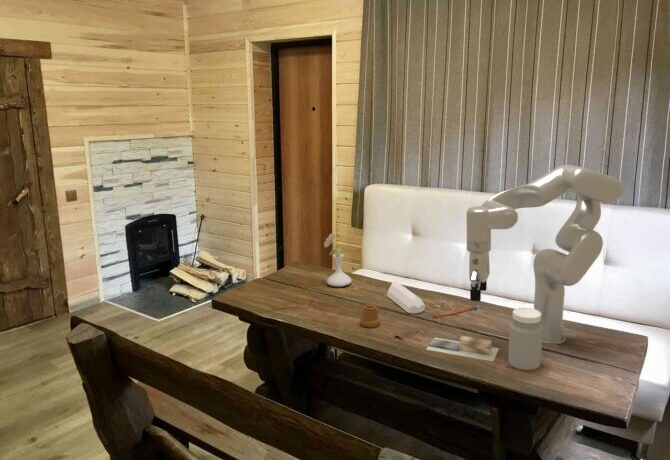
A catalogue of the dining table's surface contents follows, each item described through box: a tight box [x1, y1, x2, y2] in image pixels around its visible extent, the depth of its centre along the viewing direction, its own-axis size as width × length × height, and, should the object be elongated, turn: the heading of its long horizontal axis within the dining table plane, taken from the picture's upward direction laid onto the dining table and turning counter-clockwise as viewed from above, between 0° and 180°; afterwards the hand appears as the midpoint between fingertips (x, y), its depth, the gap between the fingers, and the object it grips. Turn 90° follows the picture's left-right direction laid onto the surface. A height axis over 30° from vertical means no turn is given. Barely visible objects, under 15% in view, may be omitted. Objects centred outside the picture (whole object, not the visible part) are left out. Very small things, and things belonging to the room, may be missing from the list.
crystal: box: [386, 280, 426, 315], centre depth 229 cm, size 7×7×24 cm
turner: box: [428, 335, 493, 356], centre depth 186 cm, size 20×5×4 cm, turn 64°
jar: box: [507, 306, 543, 371], centre depth 174 cm, size 10×10×18 cm
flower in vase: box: [323, 231, 352, 287], centre depth 251 cm, size 13×11×25 cm
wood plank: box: [394, 325, 422, 340], centre depth 201 cm, size 15×2×5 cm
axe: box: [431, 304, 489, 319], centre depth 216 cm, size 22×6×2 cm, turn 114°
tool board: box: [425, 337, 500, 362], centre depth 186 cm, size 22×10×1 cm, turn 63°
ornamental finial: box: [359, 303, 381, 329], centre depth 210 cm, size 8×8×8 cm
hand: (478, 295), depth 183 cm, fingers open, 9 cm apart
